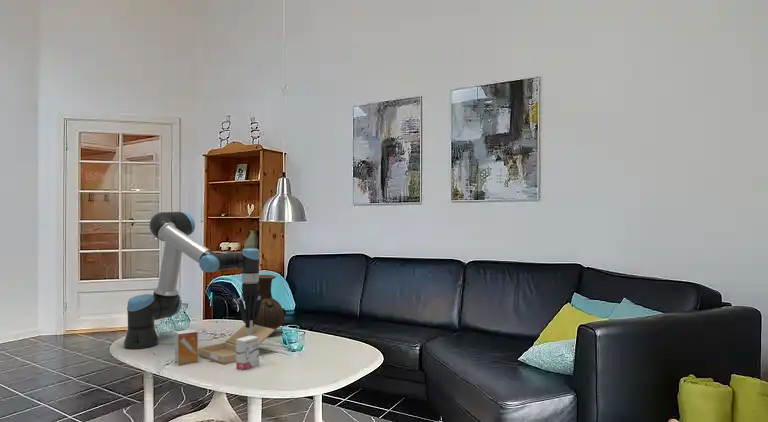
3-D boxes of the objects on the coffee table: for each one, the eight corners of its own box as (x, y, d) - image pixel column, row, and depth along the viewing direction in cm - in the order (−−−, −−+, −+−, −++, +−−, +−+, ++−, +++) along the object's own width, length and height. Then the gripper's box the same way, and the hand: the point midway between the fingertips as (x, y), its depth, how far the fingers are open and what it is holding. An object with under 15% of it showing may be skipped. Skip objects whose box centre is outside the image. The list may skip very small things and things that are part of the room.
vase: (255, 341, 267) (254, 279, 267) (232, 335, 280) (232, 276, 280) (295, 332, 285) (295, 274, 285) (272, 327, 298) (271, 272, 298)
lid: (246, 322, 261) (247, 324, 261) (224, 341, 252) (225, 343, 252) (274, 328, 246) (275, 330, 246) (251, 349, 237) (252, 351, 238)
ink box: (244, 370, 219) (243, 340, 219) (235, 368, 222) (235, 339, 222) (259, 364, 227) (259, 336, 226) (251, 363, 229) (250, 335, 229)
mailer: (197, 355, 242) (197, 348, 242) (225, 349, 252) (224, 342, 252) (223, 364, 228) (223, 356, 228) (251, 357, 237) (251, 350, 237)
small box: (178, 365, 227) (177, 334, 227) (174, 361, 233) (174, 331, 233) (198, 362, 232) (197, 331, 232) (194, 358, 237) (193, 328, 237)
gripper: (242, 284, 242) (241, 337, 242) (267, 282, 251) (266, 333, 251) (233, 282, 247) (232, 335, 247) (257, 280, 257) (257, 331, 256)
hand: (249, 334), depth 249 cm, fingers closed
